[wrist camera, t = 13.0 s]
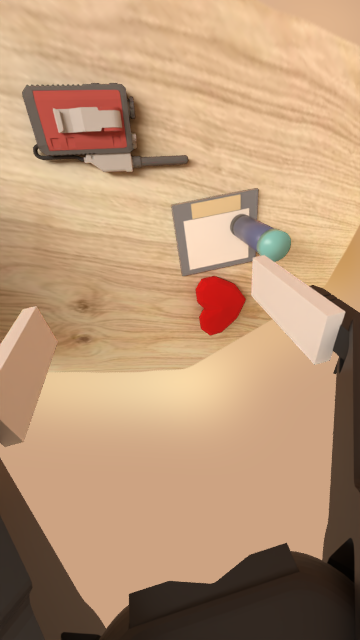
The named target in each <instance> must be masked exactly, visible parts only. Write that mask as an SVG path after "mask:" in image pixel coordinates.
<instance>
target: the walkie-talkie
mask: <svg viewBox="0 0 360 640" xmlns="http://www.w3.org/2000/svg"><path fill="white" fill-rule="evenodd" d="M22 94H23V99H24V102H25V105H26V109H27V112H28V115H29V119H30V122H31V125H32V128H33V132H34V135H35V138H36V141H37V144H36V145H35V146H34V147H33V152H34V155H35V156H36V157H37V158H39V159H42V160H52V159H78V160H80V161H85V163H92V164H93V165H95V166H96V167H98V168H99V169H100V170H102V171H103V172H115V171H127V172H133V169H132V168H139V167H142V166H156V165H176V164H186V163H188V157H187V156H186V155H181V156H160V157H140V156H131V154H130V152H131V151H132V150H133V149H136V148H137V145H136V134H135V133H132V132H131V129H130V121H129V116H130V117H131V119H134V118H135V109H134V101H133V97H132V96H130V97H129V98H128V100H127V96H126V89H125V87H124V86H123V85H122V84H117V83H110V84H99V83H91V84H82V86H79V84H77V86H74V85H72V86H69V85H67V86H64V85H62V86H59V85H57V86H54V85H52V86H49V85H47V86H44V85H42V86H39V85H36V86H34V85H31V86H28V85H26V87H25V89H24V90H23V92H22ZM38 148H39V150H40V151H42V152H43V153H44V154H46V155H47V156H41V155H39V154H38V151H37V150H38ZM95 153H96V154H95ZM82 154H84V155H86V157H84V158H81V157H79V156H76V155H82ZM61 155H64V156H61Z"/></svg>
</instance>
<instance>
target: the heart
mask: <svg viewBox="0 0 360 640" xmlns="http://www.w3.org/2000/svg"><path fill="white" fill-rule="evenodd" d="M196 296H197V302H198V303H199V304H200V305H201V306H202V307H203V308H204V309H203V311H202V313H201V315H200V317H199V318H200V326H201V329H202V330H203V331H205V332H206V333H208V334H209V335H214V334H217V333H221V332H222V331H223V330H225V329H226V328H227V327H228V326H229V325H230V324H231V323H232V322H233V321H234V320H235V319H236V318H237V317H238V315H239V313H240V311H241V309H242V307H243V305H244V303H245V301H246V299H245V297H244V296H243V295H242V293H241V292H240V291H239V289H238V288H237V287H236V285H235V284H233V283H231V282H228V281H226V280H223V279H221V278H218V277H216V276H212V277H208V278H204V279H201V281H200V283H199V284H198V286H197V288H196Z"/></svg>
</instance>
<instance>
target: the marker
mask: <svg viewBox="0 0 360 640" xmlns="http://www.w3.org/2000/svg"><path fill="white" fill-rule="evenodd" d="M230 230H231V232H232V234H233V235H235V236H236V237H237V238H239V239H240V240H241V241H243V242H244V243H246V244H247V245H248V246H250V247H251V248H252V249H254V250H255V251H256V252H258V254H259V255H260V256H262V255H265V256H267V257H268V258H269V259H271V260H272V261H274V262H276V261H279V260H281V259H282V258H283V257H284V256H285V255H286V254H287V253H288V251H289V249H290V246H291V239H290V236H289V235H288V234H287V233H285V232H283V231H281V230H279V229H274V228H272V227H270V226H268V225H266V224H264V223H262V222H260V221H258V220H256V219H254V218H252V217H250V216H248V215H246V214H239V215H237V216H235V217H234V218H233V220H232V221H231V224H230Z"/></svg>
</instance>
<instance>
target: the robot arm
mask: <svg viewBox="0 0 360 640" xmlns="http://www.w3.org/2000/svg"><path fill="white" fill-rule="evenodd" d="M251 296H252V297H253V298H254V299H255V300H256V302H257V303H258V304H259V305H260V306H261V307H262V308H263V309H264V310H265V311H266V312H267V313H268V315H269V316H270V317H271V318H272V319H273V320H274V321H275V322H276V323H277V324H278V325H279V327H280V328H281V329H282V330H283V331H284V332H285V333H286V334H287V335H288V336H289V337H290V338H291V339H292V341H293V342H294V343H295V344H296V345H297V346H298V347H299V348H300V349H301V350H302V351H303V352H304V354H305V355H306V356H307V357H308V358H309V359H310V360H311V361H312V362H313V363H314V365H315V364H319V363H322V362H326V361H330V359H331V355H332V352H333V351H334V352H335V353H337V355H338V356H339V359H338V362H337V365H336V367H335V370H334V374H336V373H337V377H336V396H335V414H334V431H333V450H332V467H331V487H330V503H329V519H328V525H327V529H326V533H325V538H324V547H323V559H322V560H320V559H318V558H315V557H313V556H310V555H307V554H304V553H299V552H293V551H290V549H289V547H288V545H287V543H285V544H282V545H279V546H276V547H273V548H270V549H267V550H264V551H260V552H257V553H255V554H251V555H249V556H248V557H247V558H245V559H244V560H243V561H241V562H240V563H239V564H238V565H236V566H235V567H234V568H233V569H232V570H230V571H229V572H228V573H227V574H225V575H224V576H223V577H222V578H220V579H219V580H218V581H216V582H215V583H212V584H206V583H191V582H176V581H168V582H165V583H162V584H159V585H155V586H152V587H149V588H146V589H143V590H140V591H137V592H134V593H131V594H129V605H128V606H127V607H126V608H124V609H123V610H122V611H121V612H120V613H119V614H118V615H117V616H116V618H115V619H114V620H113V621H112V622H111V624H110V625H109V626H108V627H107V629H106V628H105V626H104V625H103V623H102V621H101V620H100V618H99V617H98V616H97V614H96V613H95V612H94V611H93V609H91V607H89V605H88V604H87V603H85V602H84V600H83V599H82V597H81V596H80V594H79V593H78V591H77V590H76V587H75V586H74V584H73V582H72V581H71V579H70V577H69V575H68V574H67V572H66V570H65V569H64V567H63V565H62V563H61V562H60V560H59V558H58V557H57V555H56V553H55V551H54V550H53V548H52V546H51V544H50V543H49V541H48V539H47V538H46V536H45V534H44V533H43V531H42V529H41V527H40V526H39V524H38V522H37V521H36V519H35V517H34V515H33V514H32V512H31V510H30V508H29V507H28V505H27V503H26V501H25V500H24V498H23V496H22V495H21V493H20V491H19V489H18V488H17V486H16V485H15V483H14V481H13V479H12V477H11V476H10V474H9V473H8V471H7V469H6V467H5V466H4V464H3V462H2V460H1V459H0V640H360V313H359V312H358V311H356V310H355V309H353V308H352V307H350V306H349V305H347V304H346V303H344V302H343V301H341V300H340V299H337V298H336V297H335V296H334V295H331V294H330V293H329V292H328V291H326V290H325V289H323V288H320V287H317V286H314V285H312V286H308V285H307V284H305V283H304V282H302V281H301V280H299V279H298V278H297V277H295V276H294V275H292V274H291V273H289V272H288V271H287V270H285V269H284V268H282V267H281V266H279V265H278V264H277V263H275V262H274V261H272V260H271V259H269V258H268V257H267V256H265V255H262V256H258V257H253V264H252V292H251ZM57 343H58V341H57V339H56V338H55V336H54V334H53V333H52V331H51V329H50V328H49V326H48V324H47V323H46V321H45V319H44V318H43V316H42V314H41V313H40V311H39V309H38V308H37V306H34V307H30V308H25V309H23V310H22V311H21V313H20V314H19V316H18V318H17V319H16V321H15V322H14V324H13V325H12V327H11V329H10V330H9V332H8V333H7V335H6V336H5V338H4V339H3V341H2V343H1V344H0V443H1V444H2V445H3V446H5V447H6V446H10V445H13V444H17V443H21V442H24V439H25V436H26V433H27V430H28V428H29V425H30V422H31V419H32V416H33V412H34V410H35V407H36V404H37V401H38V398H39V395H40V393H41V389H42V387H43V384H44V381H45V378H46V375H47V372H48V369H49V366H50V363H51V360H52V357H53V355H54V352H55V349H56V346H57Z"/></svg>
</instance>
